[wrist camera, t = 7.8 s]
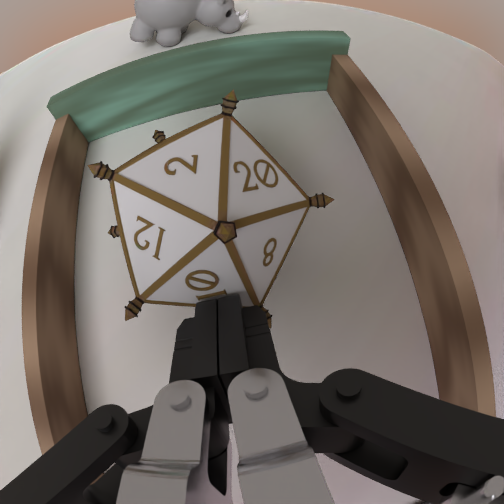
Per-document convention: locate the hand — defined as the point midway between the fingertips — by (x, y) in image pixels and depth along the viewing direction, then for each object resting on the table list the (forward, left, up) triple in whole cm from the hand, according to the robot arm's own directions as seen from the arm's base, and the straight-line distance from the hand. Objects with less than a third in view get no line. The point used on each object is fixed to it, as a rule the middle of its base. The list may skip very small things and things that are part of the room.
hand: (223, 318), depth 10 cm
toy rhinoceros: (-15, -25, -4) cm, 30 cm away
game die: (-2, -4, -4) cm, 6 cm away
